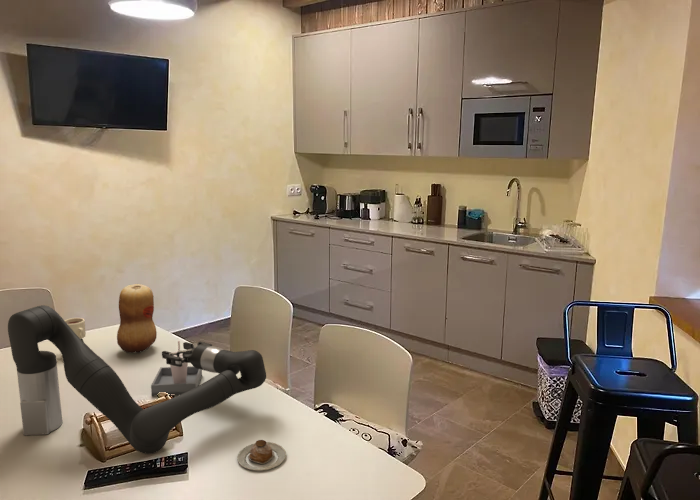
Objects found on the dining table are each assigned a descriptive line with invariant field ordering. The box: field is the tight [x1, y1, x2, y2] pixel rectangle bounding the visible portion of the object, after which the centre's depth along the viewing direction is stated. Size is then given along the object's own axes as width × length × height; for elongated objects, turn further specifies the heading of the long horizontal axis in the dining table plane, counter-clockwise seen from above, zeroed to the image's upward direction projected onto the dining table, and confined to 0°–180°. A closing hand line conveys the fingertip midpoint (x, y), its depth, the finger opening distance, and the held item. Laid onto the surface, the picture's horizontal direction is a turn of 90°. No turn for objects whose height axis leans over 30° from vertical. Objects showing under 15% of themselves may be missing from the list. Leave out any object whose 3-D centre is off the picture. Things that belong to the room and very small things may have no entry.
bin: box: [150, 365, 203, 397], centre depth 171 cm, size 13×13×4 cm
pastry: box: [236, 439, 287, 472], centre depth 133 cm, size 12×12×5 cm
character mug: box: [63, 317, 87, 343], centre depth 192 cm, size 11×7×13 cm, turn 57°
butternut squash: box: [116, 283, 158, 354], centre depth 195 cm, size 14×13×25 cm
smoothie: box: [169, 340, 189, 384], centre depth 169 cm, size 6×6×14 cm
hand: (173, 349), depth 170 cm, fingers open, 8 cm apart
